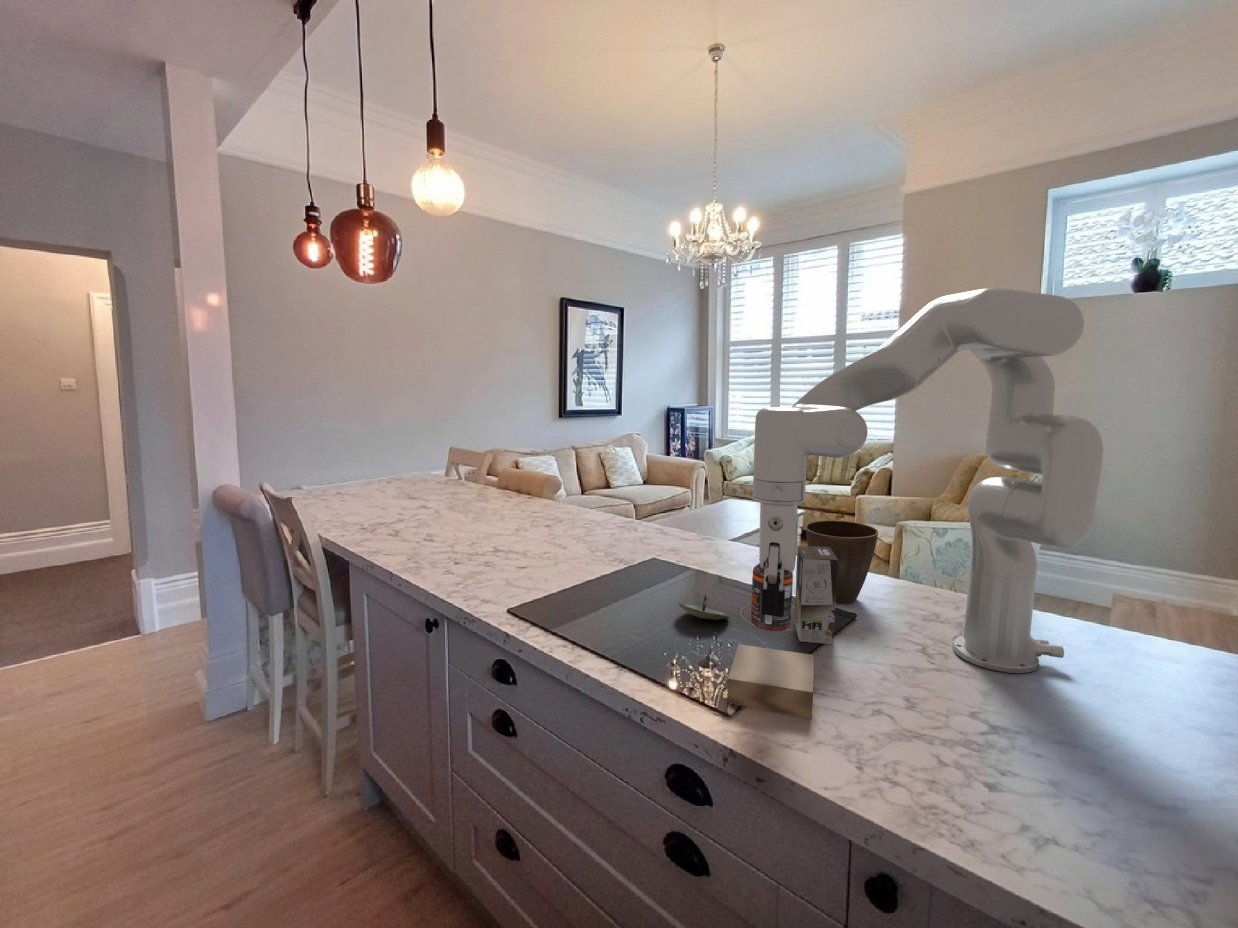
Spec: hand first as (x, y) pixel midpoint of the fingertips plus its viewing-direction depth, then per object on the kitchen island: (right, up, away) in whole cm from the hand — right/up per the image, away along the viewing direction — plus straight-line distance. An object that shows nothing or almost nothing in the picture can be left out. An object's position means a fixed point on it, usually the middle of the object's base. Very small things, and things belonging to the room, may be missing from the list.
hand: (774, 605), depth 87 cm
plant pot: (+25, -9, +40) cm, 48 cm away
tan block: (0, -14, +2) cm, 14 cm away
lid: (-6, -10, +29) cm, 31 cm away
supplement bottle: (0, -3, +1) cm, 3 cm away
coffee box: (+14, -11, +22) cm, 29 cm away
